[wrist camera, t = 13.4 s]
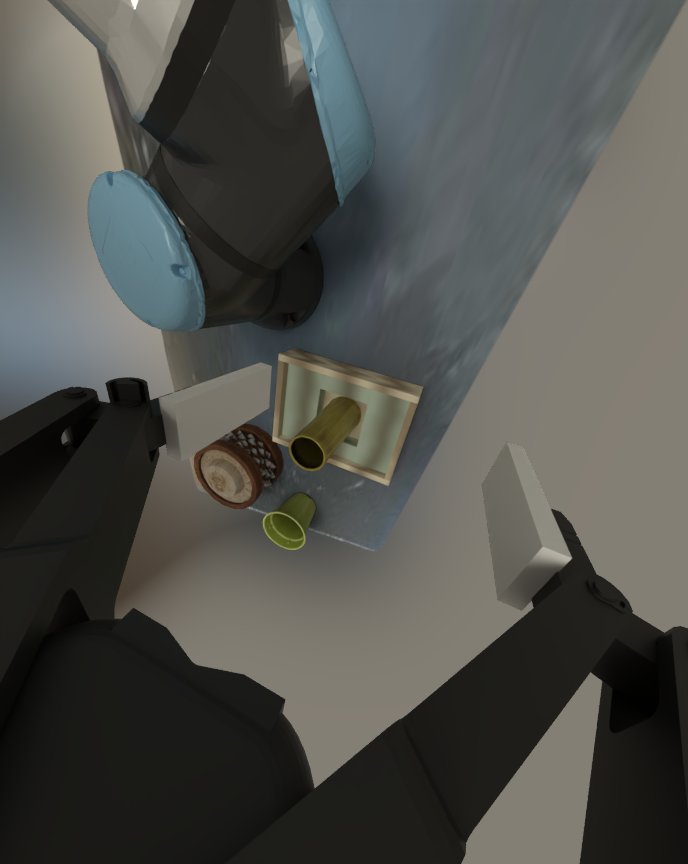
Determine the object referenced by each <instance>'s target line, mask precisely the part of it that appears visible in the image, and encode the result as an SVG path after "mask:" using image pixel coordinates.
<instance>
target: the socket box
mask: <svg viewBox="0 0 688 864" xmlns="http://www.w3.org/2000/svg"><path fill="white" fill-rule="evenodd" d="M422 390H423V387H422V386H419V385H415V384H412V383H409V382H405V381H402V380H399V379H395V378H392V377H389V376H385V375H382V374H379V373H375V372H372V371H369V370H365V369H362V368H359V367H355V366H352V365H349V364H345V363H342V362H339V361H335V360H332V359H329V358H325V357H322V356H319V355H315V354H312V353H309V352H305V351H302V350H299V349H295V348H294V349H291V350H288V351H285V352H282V353H279V357H278V370H277V384H276V397H275V411H274V425H273V438H272V441H274V442H276V443H279V444H281V445H284V446H287V447H289V444H290V442H291V440H292V439H293V438H294V437H295V436H296V435H297V434H298V433H299V432H300V431H301V430H302V429H303V428H304V427H306V426H307V425H308V424H309V423H310V422H311V421H312V420H313V419H314V418H315V417H316V416H317V415H318V414H319V413H320V412H321V411H322V410H323V409H324V408H325V407H326V406H327V405H328V404H329V403H330V401H331V400H332V399H334V398H336V397H340V396H343V397H347V398H350V399H352V400H353V401H355V403H356V404H357V405H358V407H359V408H360V411H361V420H360V422H359V424H358V425H357V426H356V427H355V428H354V429H353V430H352V431H351V433H350V434H349V435H348V436H347V437H346V438H345V439H344V441H343V442H342V443H341V444H340V445H339V447H338V448H337V449H336V450H335V451H334V453H333V454H332V455H331V457H330V458H329V459H328V461H327V462H328V463H331V464H333V465H336V466H338V467H341V468H343V469H346V470H349V471H351V472H354V473H356V474H359V475H362V476H364V477H367V478H369V479H372V480H375V481H377V482H380V483H382V484H385V485H387V486H388V485H389V483H390V480H391V477H392V474H393V472H394V469H395V466H396V463H397V460H398V458H399V455H400V452H401V449H402V446H403V444H404V441H405V438H406V435H407V432H408V430H409V427H410V424H411V421H412V418H413V416H414V413H415V410H416V407H417V404H418V402H419V399H420V396H421V393H422Z"/></svg>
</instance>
